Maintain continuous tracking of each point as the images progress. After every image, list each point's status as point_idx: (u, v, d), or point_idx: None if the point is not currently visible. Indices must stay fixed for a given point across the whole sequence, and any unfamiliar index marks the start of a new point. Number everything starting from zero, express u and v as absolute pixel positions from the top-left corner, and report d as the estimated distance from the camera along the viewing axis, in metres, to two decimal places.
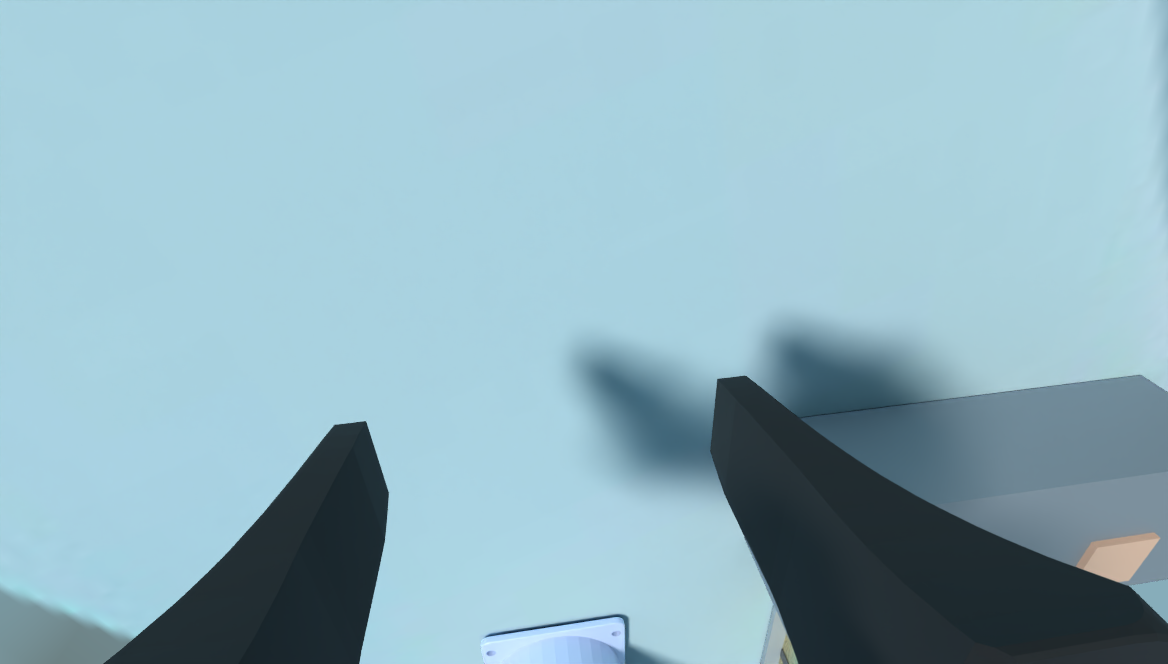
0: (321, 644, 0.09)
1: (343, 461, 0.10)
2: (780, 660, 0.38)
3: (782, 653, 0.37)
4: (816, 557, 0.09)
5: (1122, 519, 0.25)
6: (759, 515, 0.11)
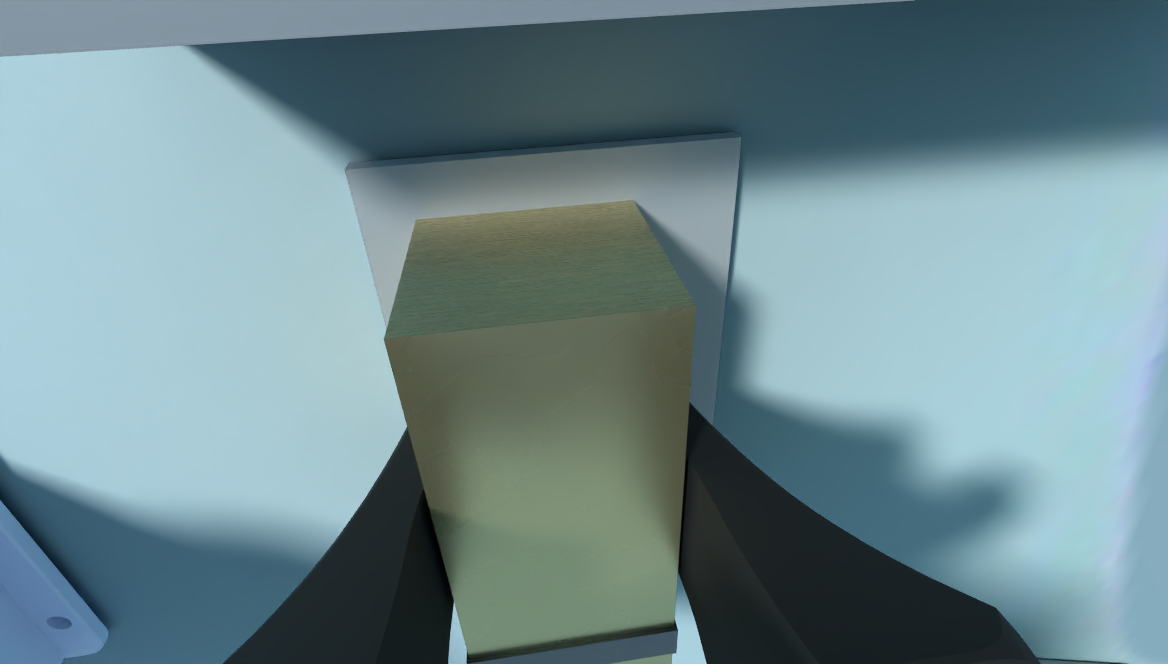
0: (426, 628, 0.09)
1: None
2: None
3: None
4: (717, 572, 0.09)
5: None
6: None
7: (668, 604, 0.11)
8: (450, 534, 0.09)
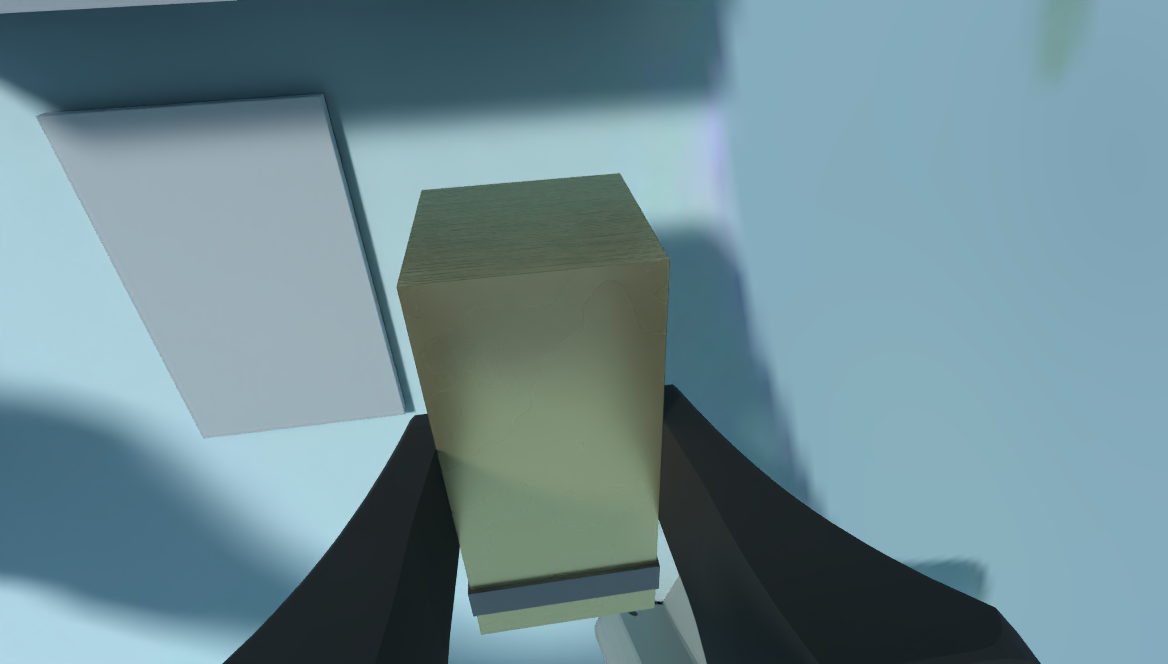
0: (426, 628, 0.09)
1: (433, 450, 0.10)
2: None
3: None
4: (717, 572, 0.09)
5: None
6: (678, 527, 0.11)
7: (650, 541, 0.12)
8: (453, 469, 0.11)
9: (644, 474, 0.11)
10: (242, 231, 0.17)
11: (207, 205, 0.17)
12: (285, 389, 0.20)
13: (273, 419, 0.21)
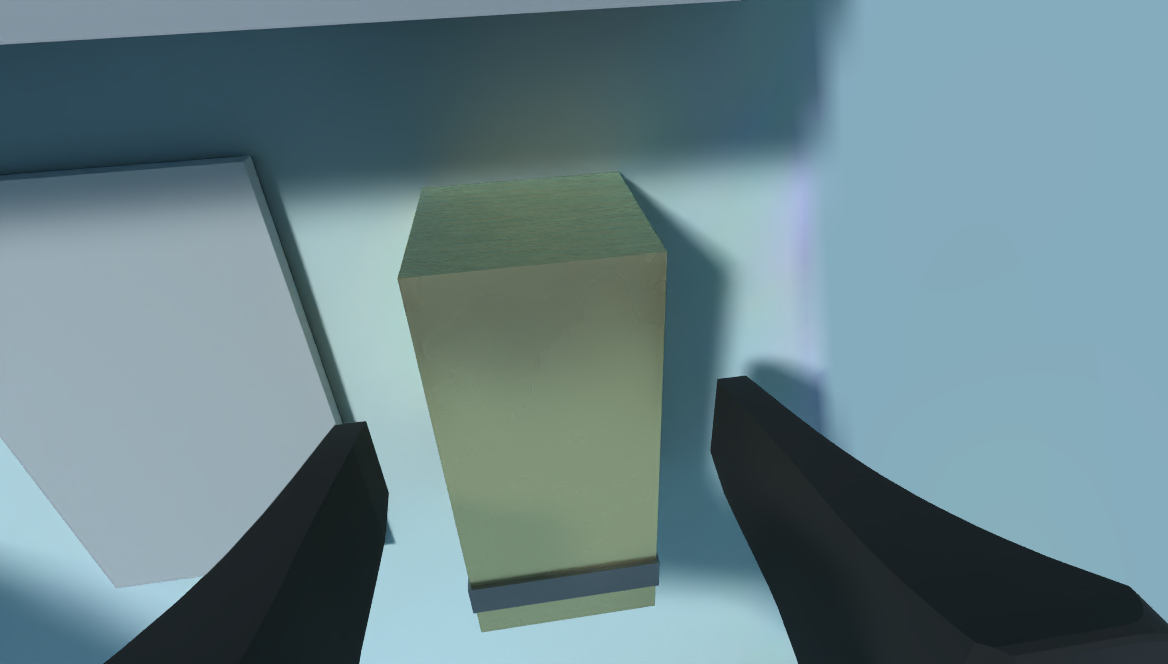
0: (321, 644, 0.09)
1: (343, 461, 0.10)
2: None
3: None
4: (816, 557, 0.09)
5: None
6: (759, 515, 0.11)
7: (650, 537, 0.12)
8: (454, 463, 0.11)
9: (643, 468, 0.11)
10: (144, 342, 0.12)
11: (90, 310, 0.12)
12: (221, 529, 0.15)
13: (207, 563, 0.16)
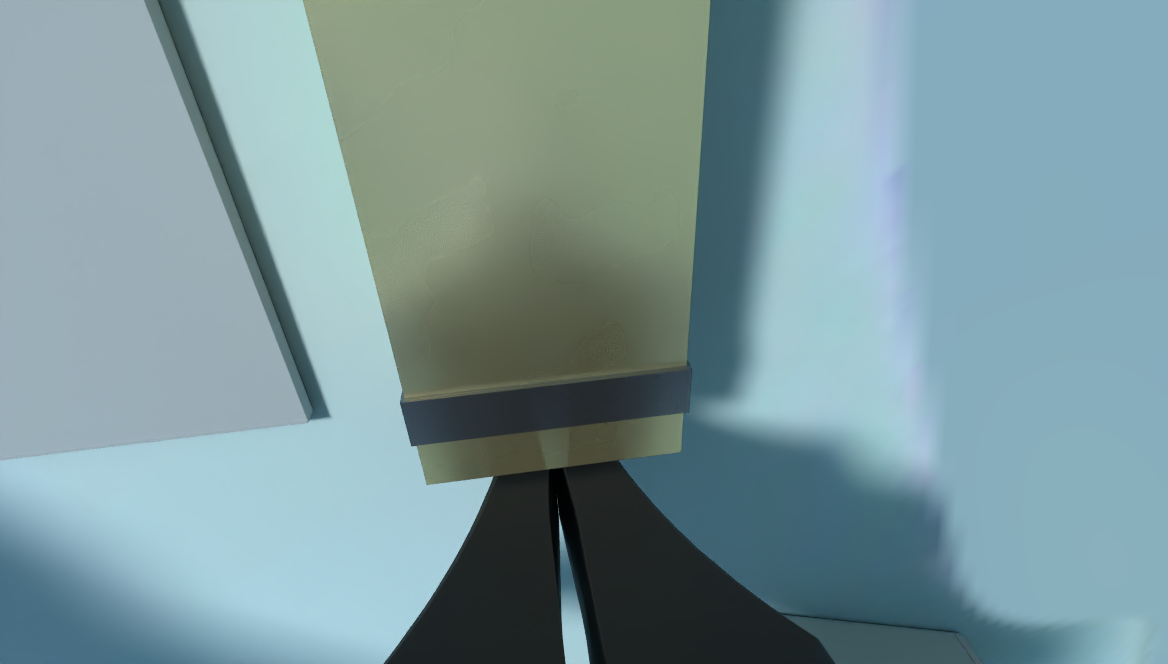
0: None
1: None
2: None
3: None
4: (586, 592, 0.09)
5: None
6: (571, 542, 0.11)
7: (679, 321, 0.08)
8: (358, 135, 0.06)
9: (673, 178, 0.07)
10: None
11: None
12: (82, 379, 0.11)
13: (71, 432, 0.12)
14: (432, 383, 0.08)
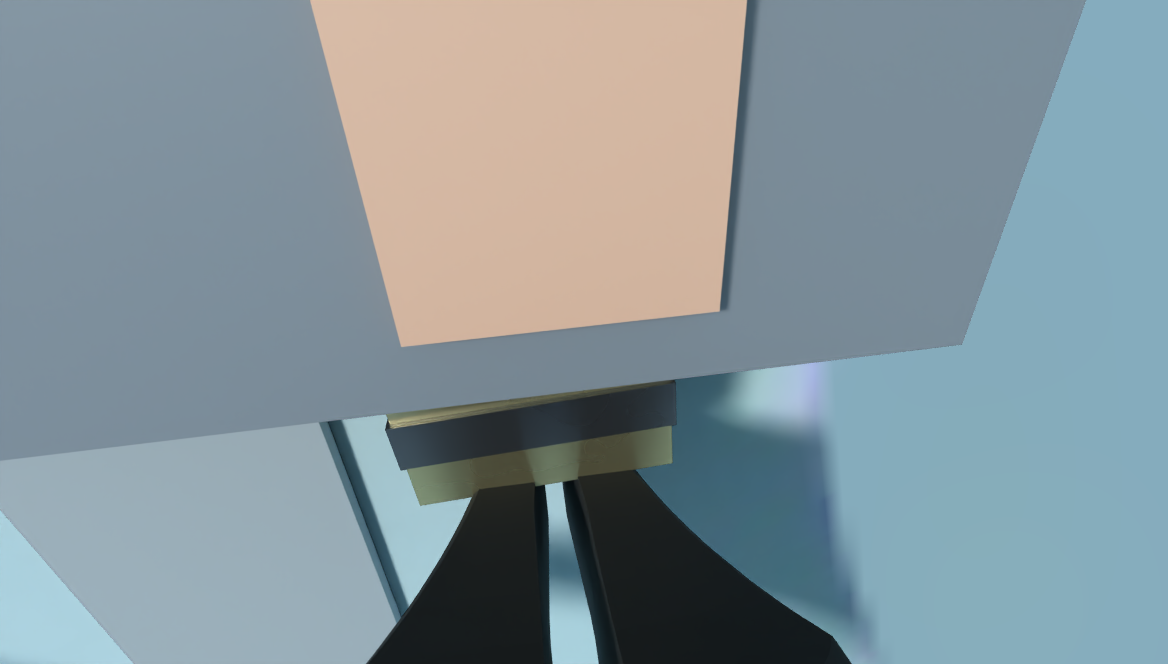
0: (545, 610, 0.09)
1: None
2: None
3: None
4: (596, 590, 0.09)
5: None
6: (579, 541, 0.11)
7: None
8: None
9: None
10: (198, 502, 0.13)
11: (149, 479, 0.13)
12: (262, 647, 0.16)
13: None
14: None
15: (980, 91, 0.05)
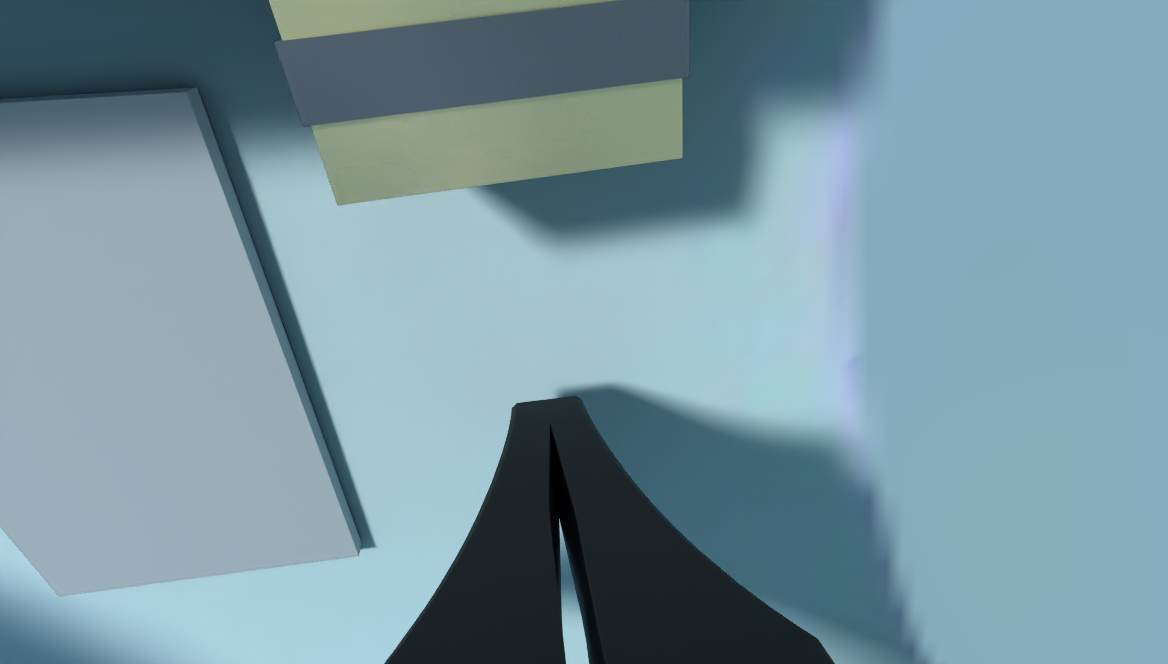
0: None
1: (548, 436, 0.10)
2: None
3: None
4: (585, 592, 0.09)
5: None
6: (570, 542, 0.11)
7: None
8: None
9: None
10: (77, 312, 0.11)
11: (10, 273, 0.10)
12: (176, 531, 0.14)
13: (162, 568, 0.14)
14: (317, 11, 0.06)
15: None
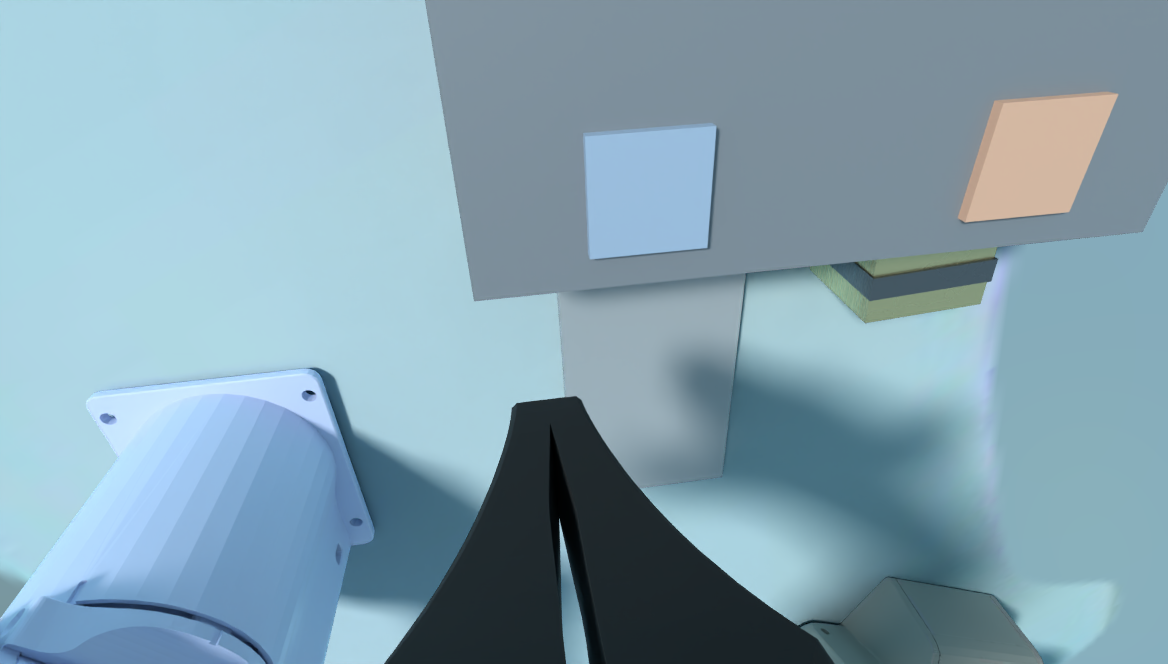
0: None
1: (548, 436, 0.10)
2: None
3: None
4: (585, 592, 0.09)
5: (1047, 38, 0.14)
6: (569, 542, 0.11)
7: None
8: None
9: None
10: (660, 353, 0.23)
11: (644, 336, 0.23)
12: (645, 460, 0.27)
13: None
14: (887, 269, 0.19)
15: (1167, 135, 0.15)
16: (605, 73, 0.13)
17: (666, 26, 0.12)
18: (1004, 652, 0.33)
